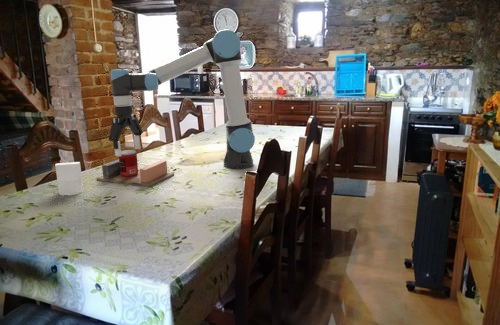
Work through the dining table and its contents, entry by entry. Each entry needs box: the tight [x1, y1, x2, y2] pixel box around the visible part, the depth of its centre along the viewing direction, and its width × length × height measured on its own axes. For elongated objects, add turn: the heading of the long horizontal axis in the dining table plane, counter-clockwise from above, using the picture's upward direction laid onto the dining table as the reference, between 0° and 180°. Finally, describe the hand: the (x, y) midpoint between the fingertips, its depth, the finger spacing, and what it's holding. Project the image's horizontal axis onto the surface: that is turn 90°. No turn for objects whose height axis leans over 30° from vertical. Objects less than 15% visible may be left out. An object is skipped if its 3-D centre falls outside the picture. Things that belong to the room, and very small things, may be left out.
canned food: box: [118, 149, 139, 177], centre depth 170 cm, size 8×8×11 cm
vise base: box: [96, 159, 175, 188], centre depth 170 cm, size 29×18×7 cm, turn 70°
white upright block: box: [54, 161, 84, 196], centre depth 151 cm, size 9×9×12 cm
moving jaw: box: [139, 159, 168, 183], centre depth 166 cm, size 3×16×6 cm, turn 160°
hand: (128, 152), depth 169 cm, fingers open, 13 cm apart
